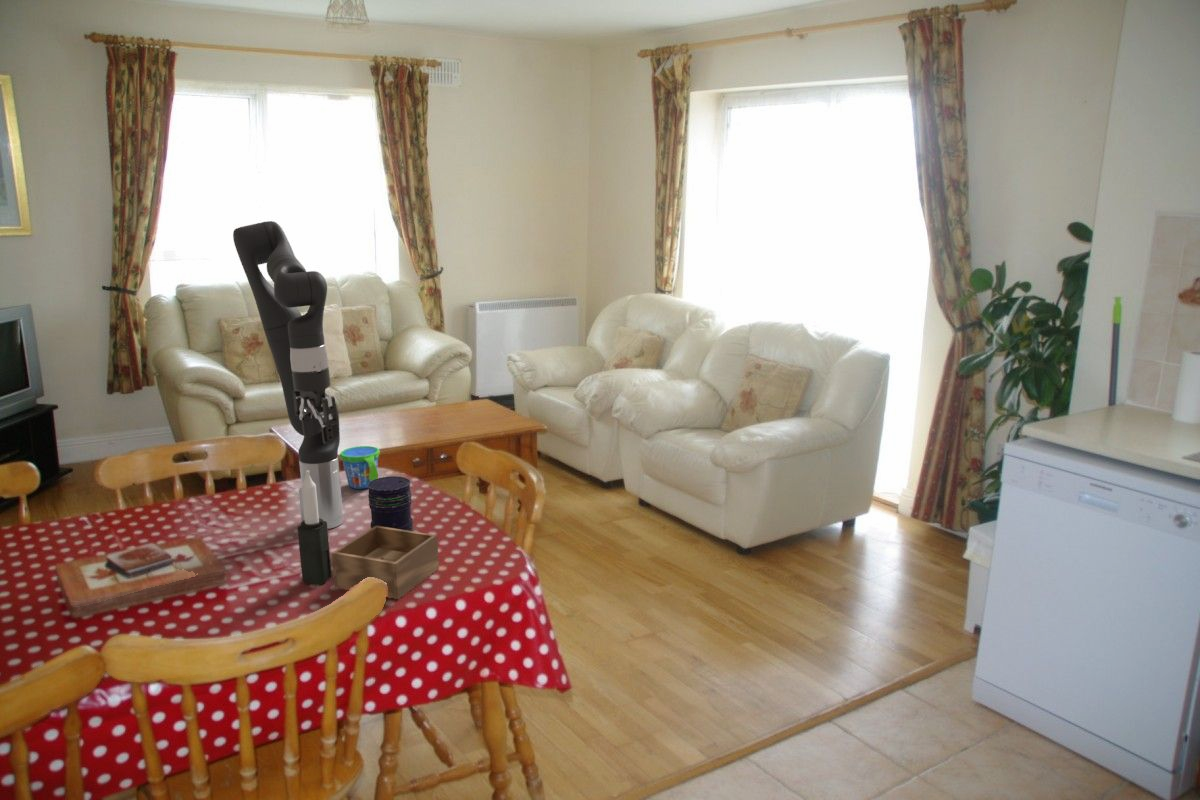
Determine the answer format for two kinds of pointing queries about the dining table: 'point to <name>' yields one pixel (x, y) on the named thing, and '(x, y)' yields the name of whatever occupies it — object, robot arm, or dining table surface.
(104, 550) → the dining table surface
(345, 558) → the peg box
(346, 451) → the snack cup
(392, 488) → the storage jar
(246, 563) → the dining table surface
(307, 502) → the candle
